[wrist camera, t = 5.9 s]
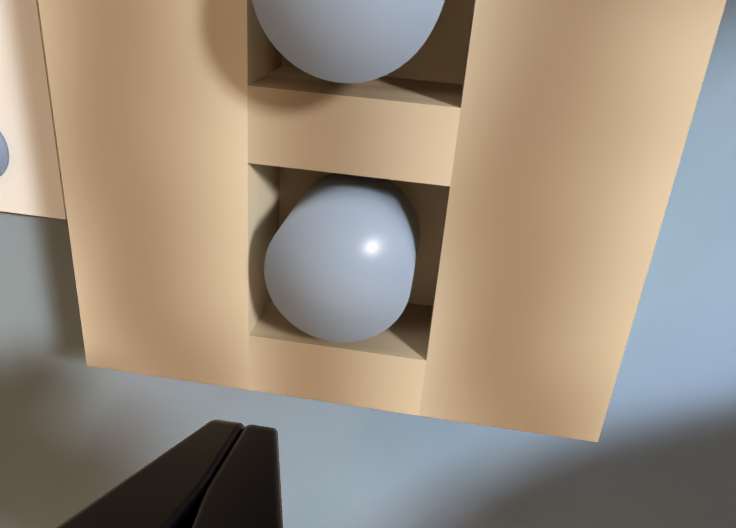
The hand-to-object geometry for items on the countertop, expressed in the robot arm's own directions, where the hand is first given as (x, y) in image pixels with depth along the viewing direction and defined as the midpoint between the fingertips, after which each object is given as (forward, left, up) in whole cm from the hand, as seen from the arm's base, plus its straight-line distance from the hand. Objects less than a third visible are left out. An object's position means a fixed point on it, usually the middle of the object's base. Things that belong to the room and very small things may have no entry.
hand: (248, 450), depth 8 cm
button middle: (0, -6, -7) cm, 9 cm away
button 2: (0, 0, -8) cm, 8 cm away
